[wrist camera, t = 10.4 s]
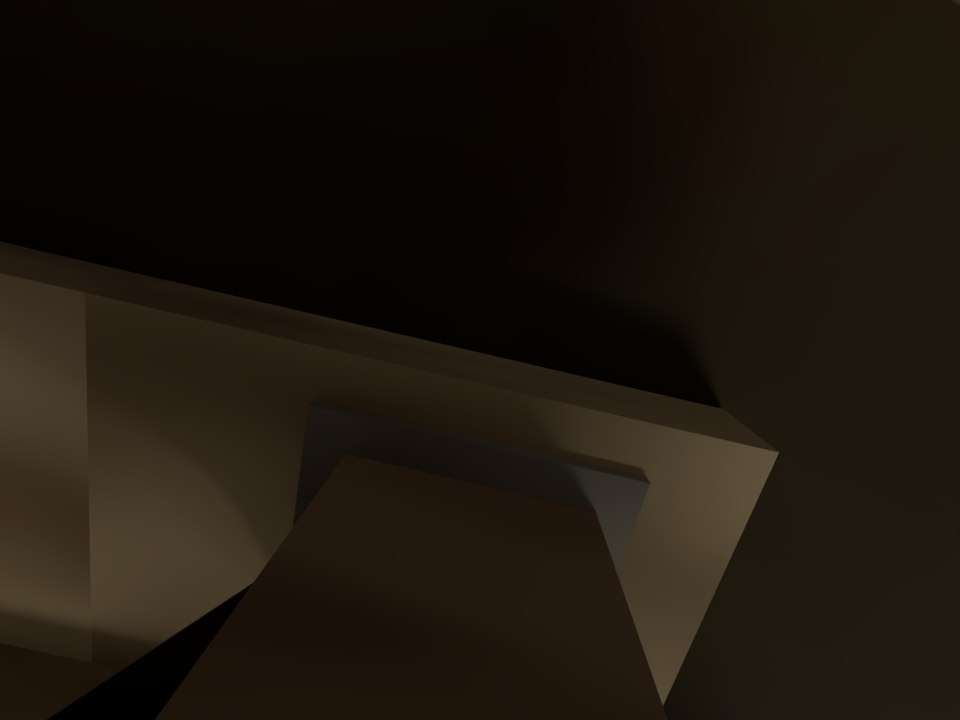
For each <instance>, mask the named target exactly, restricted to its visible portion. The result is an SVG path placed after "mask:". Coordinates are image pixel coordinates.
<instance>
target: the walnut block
mask: <svg viewBox="0 0 960 720" xmlns="http://www.w3.org/2000/svg"><path fill="white" fill-rule="evenodd" d="M155 720H668V719H667V716H666V713H665V711H664V708H663V705H662V702H661V699H660V696H659V693H658V690H657V687H656V684H655V682H654V679H653V676H652V673H651V670H650V667H649V664H648V661H647V658H646V656H645V653H644V650H643V647H642V644H641V641H640V638H639V635H638V632H637V630H636V627H635V624H634V621H633V618H632V615H631V612H630V609H629V606H628V603H627V601H626V598H625V595H624V592H623V589H622V586H621V583H620V580H619V577H618V575H617V572H616V569H615V566H614V563H613V560H612V557H611V554H610V551H609V549H608V546H607V543H606V540H605V537H604V534H603V531H602V528H601V525H600V522H599V520H598V517H597V514H596V511H595V510H590V509H586V508H581V507H577V506H572V505H568V504H564V503H559V502H555V501H550V500H546V499H542V498H537V497H533V496H528V495H524V494H519V493H515V492H511V491H506V490H502V489H497V488H493V487H489V486H484V485H480V484H475V483H471V482H467V481H462V480H458V479H453V478H449V477H444V476H440V475H436V474H431V473H427V472H422V471H418V470H414V469H409V468H405V467H400V466H396V465H392V464H387V463H383V462H378V461H374V460H369V459H365V458H361V457H356V456H352V455H347V454H345V455H344V457H343V458H342V460H341V461H340V462H339V464H338V465H337V467H336V468H335V469H334V471H333V472H332V474H331V475H330V476H329V478H328V479H327V481H326V482H325V483H324V485H323V486H322V487H321V489H320V490H319V492H318V493H317V494H316V496H315V497H314V499H313V500H312V501H311V503H310V504H309V506H308V507H307V508H306V510H305V511H304V513H303V514H302V515H301V517H300V518H299V520H298V521H297V522H296V524H295V525H294V527H293V528H292V529H291V531H290V532H289V534H288V535H287V536H286V538H285V539H284V541H283V542H282V543H281V545H280V546H279V547H278V549H277V550H276V552H275V553H274V554H273V556H272V557H271V559H270V560H269V561H268V563H267V564H266V566H265V567H264V568H263V570H262V571H261V573H260V574H259V575H258V577H257V578H256V580H255V581H254V582H253V584H252V585H251V587H250V588H249V589H248V591H247V592H246V594H245V595H244V596H243V598H242V599H241V601H240V602H239V603H238V605H237V606H236V607H235V609H234V610H233V612H232V613H231V614H230V616H229V617H228V619H227V620H226V621H225V623H224V624H223V626H222V627H221V628H220V630H219V631H218V633H217V634H216V635H215V637H214V638H213V640H212V641H211V642H210V644H209V645H208V647H207V648H206V649H205V651H204V652H203V654H202V655H201V656H200V658H199V659H198V661H197V662H196V663H195V665H194V666H193V667H192V669H191V670H190V672H189V673H188V674H187V676H186V677H185V679H184V680H183V681H182V683H181V684H180V686H179V687H178V688H177V690H176V691H175V693H174V694H173V695H172V697H171V698H170V700H169V701H168V702H167V704H166V705H165V707H164V708H163V709H162V711H161V712H160V714H159V715H158V716H157V718H156V719H155Z"/></svg>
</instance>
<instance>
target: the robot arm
mask: <svg viewBox="0 0 960 720" xmlns="http://www.w3.org/2000/svg"><path fill="white" fill-rule="evenodd" d="M252 584H253V583H252ZM252 584H250V585H249V586H247V587H246V588H244V589H243V590H241V591H240V592H238V593H237V594H235V595H233V596H232V597H230V598H229V599H227V600H226V601H224V602H223V603H221V604H220V605H218V606H217V607H215V608H214V609H212V610H211V611H209V612H208V613H206V614H205V615H203V616H202V617H200V618H199V619H197V620H196V621H194V622H193V623H191V624H190V625H188V626H186V627H185V628H183V629H182V630H180V631H179V632H177V633H176V634H174V635H173V636H171V637H170V638H168V639H167V640H165V641H164V642H162V643H161V644H159V645H158V646H156V647H155V648H153V649H152V650H150V651H149V652H147V653H146V654H144V655H143V656H141V657H139V658H138V659H136V660H135V661H133V662H132V663H130V664H129V665H127V666H126V667H124V668H123V669H121V670H120V671H118V672H117V673H115V674H114V675H112V676H111V677H109V678H108V679H106V680H105V681H103V682H102V683H100V684H99V685H97V686H96V687H94V688H92V689H91V690H89V691H88V692H86V693H85V694H83V695H82V696H80V697H79V698H77V699H76V700H74V701H73V702H71V703H70V704H68V705H67V706H65V707H64V708H62V709H61V710H59V711H58V712H56V713H55V714H53V715H52V716H50V717H49V718H47V719H45V720H155V719H156V718H157V716H158V715H159V714H160V712H161V711H162V709H163V708H164V707H165V705H166V704H167V702H168V701H169V700H170V698H171V697H172V695H173V694H174V693H175V691H176V690H177V688H178V687H179V686H180V684H181V683H182V681H183V680H184V679H185V677H186V676H187V674H188V673H189V672H190V670H191V669H192V667H193V666H194V665H195V663H196V662H197V661H198V659H199V658H200V656H201V655H202V654H203V652H204V651H205V649H206V648H207V647H208V645H209V644H210V642H211V641H212V640H213V638H214V637H215V635H216V634H217V633H218V631H219V630H220V628H221V627H222V626H223V624H224V623H225V621H226V620H227V619H228V617H229V616H230V614H231V613H232V612H233V610H234V609H235V607H236V606H237V605H238V603H239V602H240V601H241V599H242V598H243V596H244V595H245V594H246V592H247V591H248V589H249V588H250V587H251V585H252Z"/></svg>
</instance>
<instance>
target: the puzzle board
mask: <svg viewBox="0 0 960 720" xmlns="http://www.w3.org/2000/svg"><path fill="white" fill-rule="evenodd" d="M778 453H779V452H777V451H776V450H775V449H774V448H772V447H771V446H770V445H768V444H767V443H766V442H765V441H763V440H762V439H761V438H759V437H758V436H757V435H756V434H754V433H753V432H752V431H750V430H749V429H748V428H746V427H745V426H744V425H743V424H741V423H740V422H739V421H737V420H736V419H735V418H734V417H732V416H731V415H730V414H728V413H727V412H726V411H725V410H723V409H721V408H716V407H712V406H708V405H703V404H699V403H695V402H690V401H686V400H682V399H677V398H673V397H669V396H664V395H660V394H656V393H652V392H647V391H643V390H639V389H634V388H630V387H626V386H621V385H617V384H613V383H608V382H604V381H600V380H595V379H591V378H587V377H582V376H578V375H574V374H569V373H565V372H561V371H557V370H552V369H548V368H544V367H539V366H535V365H531V364H526V363H522V362H518V361H513V360H509V359H505V358H500V357H496V356H492V355H487V354H483V353H479V352H475V351H470V350H466V349H462V348H457V347H453V346H449V345H444V344H440V343H436V342H431V341H427V340H423V339H418V338H414V337H410V336H405V335H401V334H397V333H393V332H388V331H384V330H380V329H375V328H371V327H367V326H362V325H358V324H354V323H349V322H345V321H341V320H336V319H332V318H328V317H323V316H319V315H315V314H311V313H306V312H302V311H298V310H293V309H289V308H285V307H280V306H276V305H272V304H267V303H263V302H259V301H254V300H250V299H246V298H241V297H237V296H233V295H229V294H224V293H220V292H216V291H211V290H207V289H203V288H198V287H194V286H190V285H185V284H181V283H177V282H172V281H168V280H164V279H159V278H155V277H151V276H147V275H142V274H138V273H134V272H129V271H125V270H121V269H116V268H112V267H108V266H103V265H99V264H95V263H90V262H86V261H82V260H77V259H73V258H69V257H65V256H60V255H56V254H52V253H47V252H43V251H39V250H34V249H30V248H26V247H21V246H17V245H13V244H8V243H4V242H0V720H45V719H47V718H49V717H50V716H52V715H53V714H55V713H56V712H58V711H59V710H61V709H62V708H64V707H65V706H67V705H68V704H70V703H71V702H73V701H74V700H76V699H77V698H79V697H80V696H82V695H83V694H85V693H86V692H88V691H89V690H91V689H92V688H94V687H96V686H97V685H99V684H100V683H102V682H103V681H105V680H106V679H108V678H109V677H111V676H112V675H114V674H115V673H117V672H118V671H120V670H121V669H123V668H124V667H126V666H127V665H129V664H130V663H132V662H133V661H135V660H136V659H138V658H139V657H141V656H143V655H144V654H146V653H147V652H149V651H150V650H152V649H153V648H155V647H156V646H158V645H159V644H161V643H162V642H164V641H165V640H167V639H168V638H170V637H171V636H173V635H174V634H176V633H177V632H179V631H180V630H182V629H183V628H185V627H186V626H188V625H190V624H191V623H193V622H194V621H196V620H197V619H199V618H200V617H202V616H203V615H205V614H206V613H208V612H209V611H211V610H212V609H214V608H215V607H217V606H218V605H220V604H221V603H223V602H224V601H226V600H227V599H229V598H230V597H232V596H233V595H235V594H237V593H238V592H240V591H241V590H243V589H244V588H246V587H247V586H249V585H250V584H252V583H253V582H254V581H255V580H256V578H257V577H258V575H259V574H260V573H261V571H262V570H263V568H264V567H265V566H266V564H267V563H268V561H269V560H270V559H271V557H272V556H273V554H274V553H275V552H276V550H277V549H278V547H279V546H280V545H281V543H282V542H283V541H284V539H285V538H286V536H287V535H288V534H289V532H290V531H291V529H292V528H293V527H294V525H295V524H296V522H297V521H298V520H299V518H300V517H301V515H302V514H303V513H304V511H305V510H306V508H307V507H308V506H309V504H310V503H311V501H312V500H313V499H314V497H315V496H316V494H317V493H318V492H319V490H320V489H321V487H322V486H323V485H324V483H325V482H326V481H327V479H328V478H329V476H330V475H331V474H332V472H333V471H334V469H335V468H336V467H337V465H338V464H339V462H340V461H341V460H342V458H343V457H344V455H345V454H347V455H352V456H356V457H361V458H365V459H369V460H374V461H378V462H383V463H387V464H392V465H396V466H400V467H405V468H409V469H414V470H418V471H422V472H427V473H431V474H436V475H440V476H444V477H449V478H453V479H458V480H462V481H467V482H471V483H475V484H480V485H484V486H489V487H493V488H497V489H502V490H506V491H511V492H515V493H519V494H524V495H528V496H533V497H537V498H542V499H546V500H550V501H555V502H559V503H564V504H568V505H572V506H577V507H581V508H586V509H590V510H595V511H596V514H597V517H598V520H599V522H600V525H601V528H602V531H603V534H604V537H605V540H606V543H607V546H608V549H609V551H610V554H611V557H612V560H613V563H614V566H615V569H616V572H617V575H618V577H619V580H620V583H621V586H622V589H623V592H624V595H625V598H626V601H627V603H628V606H629V609H630V612H631V615H632V618H633V621H634V624H635V627H636V630H637V632H638V635H639V638H640V641H641V644H642V647H643V650H644V653H645V656H646V658H647V661H648V664H649V667H650V670H651V673H652V676H653V679H654V682H655V684H656V687H657V690H658V693H659V696H660V699H661V702H662V705H663V704H664V702H665V700H666V698H667V696H668V693H669V691H670V689H671V687H672V685H673V683H674V680H675V678H676V676H677V674H678V672H679V669H680V667H681V665H682V663H683V661H684V659H685V656H686V654H687V652H688V650H689V648H690V645H691V643H692V641H693V639H694V637H695V635H696V632H697V630H698V628H699V626H700V624H701V621H702V619H703V617H704V615H705V613H706V611H707V608H708V606H709V604H710V602H711V600H712V597H713V595H714V593H715V591H716V589H717V587H718V584H719V582H720V580H721V578H722V576H723V573H724V571H725V569H726V567H727V565H728V563H729V560H730V558H731V556H732V554H733V552H734V549H735V547H736V545H737V543H738V541H739V539H740V536H741V534H742V532H743V530H744V528H745V525H746V523H747V521H748V519H749V517H750V515H751V512H752V510H753V508H754V506H755V504H756V501H757V499H758V497H759V495H760V493H761V491H762V488H763V486H764V484H765V482H766V480H767V477H768V475H769V473H770V471H771V469H772V467H773V464H774V462H775V460H776V458H777V456H778Z"/></svg>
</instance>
